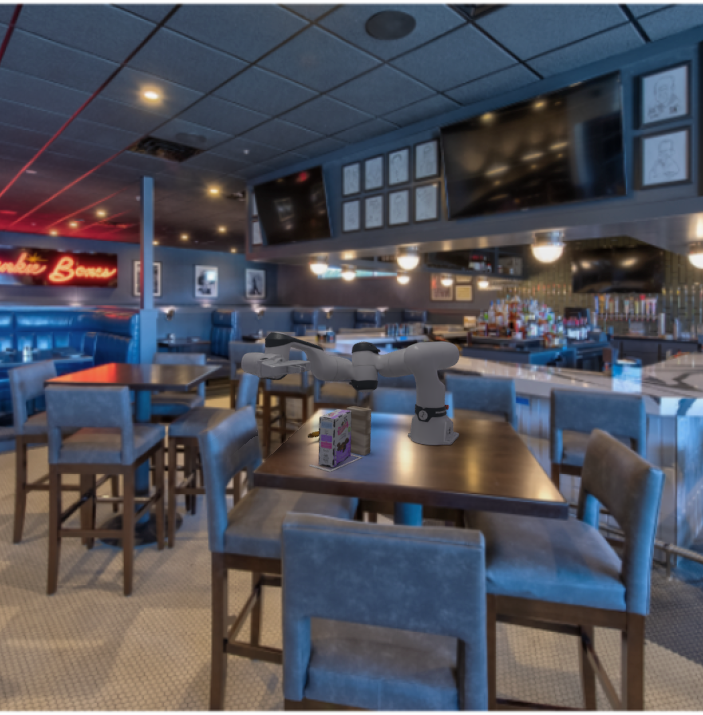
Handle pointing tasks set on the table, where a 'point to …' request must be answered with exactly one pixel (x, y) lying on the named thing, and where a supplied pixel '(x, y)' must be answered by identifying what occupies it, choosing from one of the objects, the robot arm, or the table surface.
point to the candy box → (334, 437)
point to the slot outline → (339, 466)
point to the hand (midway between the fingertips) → (302, 369)
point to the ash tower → (360, 430)
